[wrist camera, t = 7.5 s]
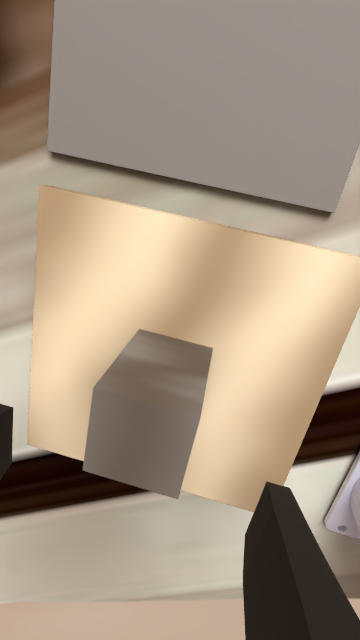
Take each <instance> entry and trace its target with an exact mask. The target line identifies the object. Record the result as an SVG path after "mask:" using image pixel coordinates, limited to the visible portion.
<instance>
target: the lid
mask: <svg viewBox="0 0 360 640" xmlns="http://www.w3.org/2000/svg"><path fill="white" fill-rule="evenodd" d="M359 307H360V256H357V255H353V254H349V253H344V252H340V251H335V250H331V249H327V248H322V247H318V246H313V245H309V244H305V243H300V242H296V241H291V240H287V239H283V238H278V237H274V236H269V235H265V234H261V233H256V232H252V231H247V230H243V229H239V228H234V227H230V226H225V225H221V224H217V223H212V222H208V221H203V220H199V219H195V218H190V217H186V216H181V215H177V214H173V213H168V212H164V211H159V210H155V209H151V208H146V207H142V206H138V205H133V204H129V203H124V202H120V201H116V200H111V199H107V198H102V197H98V196H94V195H89V194H85V193H80V192H76V191H72V190H67V189H63V188H58V187H54V186H47V185H40V186H39V207H38V229H37V250H36V271H35V293H34V314H33V335H32V356H31V378H30V399H29V420H28V441H27V444H28V445H31V446H35V447H38V448H41V449H45V450H48V451H51V452H55V453H58V454H61V455H65V456H68V457H71V458H75V459H78V460H81V461H84V464H83V471H86V472H90V473H93V474H96V475H100V476H103V477H106V478H109V479H113V480H116V481H119V482H123V483H126V484H129V485H133V486H136V487H139V488H143V489H146V490H149V491H153V492H156V493H159V494H162V495H166V496H169V497H172V498H176V499H178V497H179V494H180V490H182V491H185V492H188V493H192V494H195V495H198V496H202V497H205V498H208V499H212V500H215V501H218V502H222V503H225V504H228V505H232V506H235V507H238V508H242V509H245V510H248V511H252V512H254V511H255V509H256V506H257V504H258V501H259V499H260V496H261V494H262V491H263V489H264V486H265V484H266V481H267V482H271V483H274V484H277V485H281V486H283V485H284V483H285V481H286V478H287V476H288V473H289V471H290V469H291V466H292V464H293V462H294V459H295V457H296V455H297V452H298V450H299V448H300V445H301V443H302V441H303V438H304V436H305V434H306V431H307V429H308V426H309V424H310V422H311V419H312V417H313V415H314V412H315V410H316V408H317V405H318V403H319V401H320V398H321V396H322V394H323V391H324V389H325V386H326V384H327V382H328V379H329V377H330V375H331V372H332V370H333V368H334V365H335V363H336V361H337V358H338V356H339V354H340V351H341V349H342V347H343V344H344V342H345V339H346V337H347V335H348V332H349V330H350V328H351V325H352V323H353V321H354V318H355V316H356V314H357V311H358V309H359Z"/></svg>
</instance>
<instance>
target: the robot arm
mask: <svg viewBox="0 0 360 640" xmlns="http://www.w3.org/2000/svg"><path fill="white" fill-rule="evenodd" d="M12 430H13V407H9V406H6V405H2V404H0V480H1V478H2V477H3V475H4V474H5V472H6V471H7V469H8V468H9V466H10V465H11V463H12ZM325 525H326V528H327V529H328V530H330V531H333V532H336V533H340V534H343V535H346V536H350V537H353V538H357V539H360V451H359V453H358V455H357V457H356V459H355V461H354V463H353V465H352V467H351V469H350V471H349V473H348V475H347V477H346V479H345V481H344V483H343V485H342V487H341V488H340V490H339V492H338V494H337V496H336V498H335V500H334V502H333V504H332V506H331V508H330V510H329V512H328V514H327V516H326V518H325ZM341 525H343V526H341ZM243 593H244V614H245V634H246V640H360V620H359V618H358V616H357V615H356V613H355V612H354V609H353V608H352V606H351V604H350V602H349V601H348V599H347V597H346V595H345V594H344V592H343V590H342V588H341V586H340V585H339V583H338V581H337V579H336V577H335V575H334V573H333V572H332V570H331V568H330V566H329V564H328V562H327V561H326V559H325V557H324V555H323V553H322V551H321V549H320V547H319V545H318V543H317V541H316V539H315V537H314V535H313V533H312V531H311V530H310V528H309V526H308V524H307V521H306V519H305V517H304V515H303V513H302V511H301V509H300V507H299V505H298V503H297V501H296V499H295V497H294V495H293V493H292V491H291V490H290V488H288V487H284V486H281V485H277V484H274V483H271V482H267V481H266V484H265V486H264V489H263V491H262V494H261V496H260V499H259V501H258V504H257V506H256V509H255V511H254V514H253V516H252V519H251V521H250V524H249V526H248V529H247V532H246V534H245V547H244V566H243Z"/></svg>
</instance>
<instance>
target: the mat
mask: <svg viewBox="0 0 360 640" xmlns="http://www.w3.org/2000/svg"><path fill="white" fill-rule="evenodd" d="M359 143H360V0H55V5H54V24H53V43H52V63H51V82H50V101H49V121H48V140H47V151H51V152H55V153H59V154H64V155H69V156H73V157H78V158H83V159H87V160H92V161H96V162H101V163H106V164H110V165H115V166H119V167H124V168H129V169H133V170H138V171H143V172H147V173H152V174H156V175H161V176H166V177H170V178H175V179H179V180H184V181H189V182H193V183H198V184H203V185H207V186H212V187H216V188H221V189H226V190H230V191H235V192H239V193H244V194H249V195H253V196H258V197H262V198H267V199H272V200H276V201H281V202H286V203H290V204H295V205H299V206H304V207H309V208H313V209H318V210H322V211H327V212H332V213H335V211H336V208H337V205H338V202H339V200H340V197H341V194H342V191H343V188H344V185H345V183H346V180H347V177H348V174H349V171H350V169H351V166H352V163H353V160H354V157H355V155H356V152H357V149H358V146H359Z"/></svg>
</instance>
